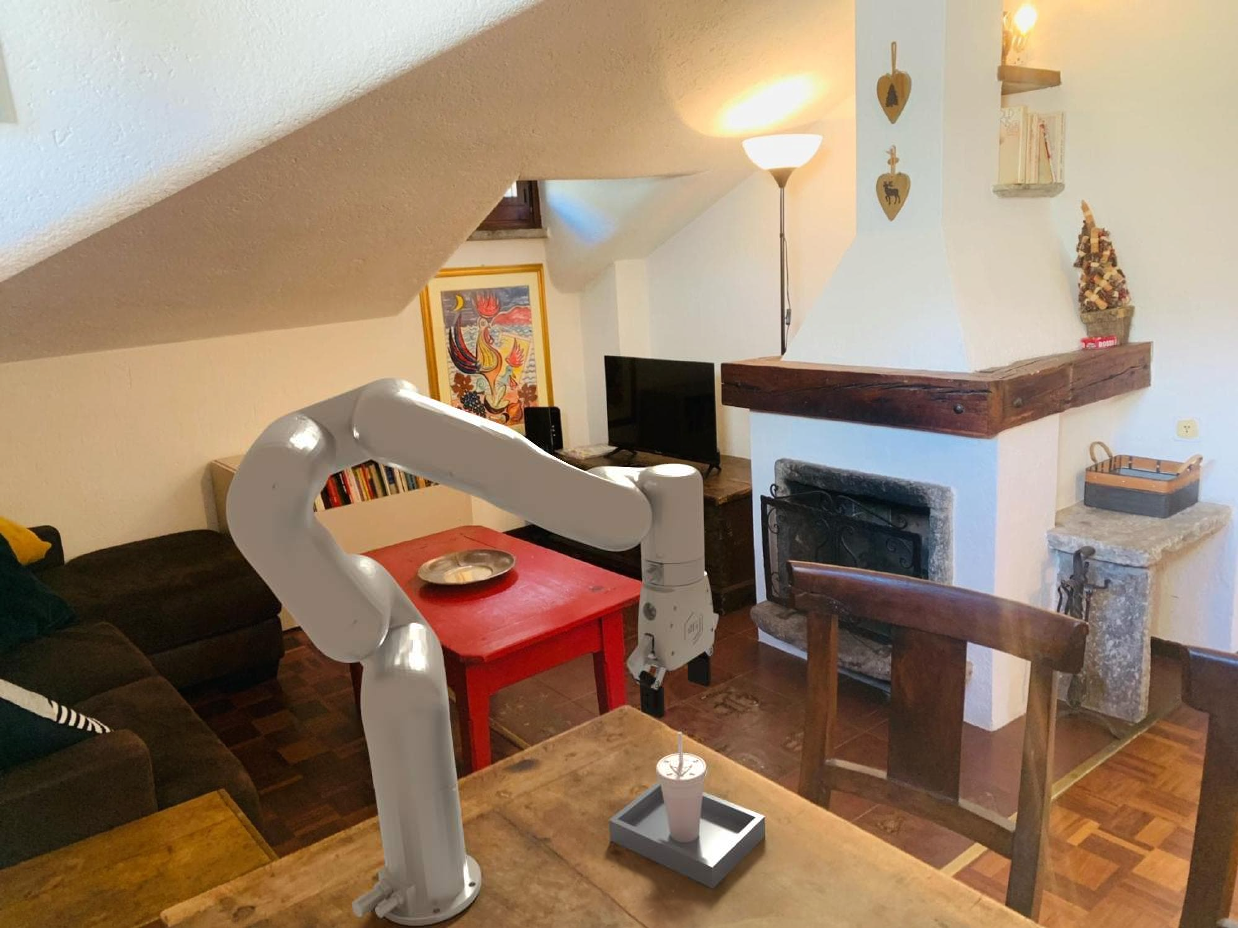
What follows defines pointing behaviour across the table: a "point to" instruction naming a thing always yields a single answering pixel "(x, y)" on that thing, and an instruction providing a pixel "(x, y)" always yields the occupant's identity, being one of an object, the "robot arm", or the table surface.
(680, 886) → the table surface
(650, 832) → the grey tray
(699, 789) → the smoothie
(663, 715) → the robot arm
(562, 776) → the table surface
